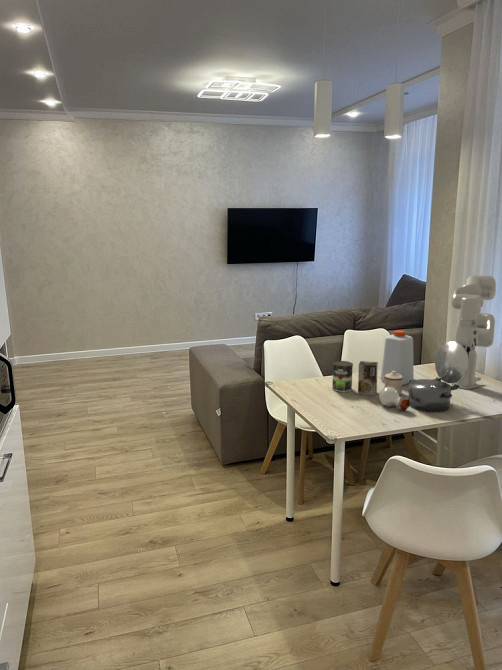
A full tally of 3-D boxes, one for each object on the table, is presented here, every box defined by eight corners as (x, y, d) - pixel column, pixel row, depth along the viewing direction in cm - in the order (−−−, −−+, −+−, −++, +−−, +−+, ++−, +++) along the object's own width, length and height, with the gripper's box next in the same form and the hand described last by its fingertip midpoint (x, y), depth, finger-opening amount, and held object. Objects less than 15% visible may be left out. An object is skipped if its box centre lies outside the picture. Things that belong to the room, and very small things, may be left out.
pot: (429, 394, 268) (430, 374, 266) (466, 409, 246) (468, 388, 244) (395, 400, 260) (397, 379, 258) (431, 417, 238) (433, 394, 235)
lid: (431, 376, 263) (435, 377, 264) (462, 388, 245) (466, 388, 246) (439, 337, 260) (443, 338, 261) (471, 346, 242) (475, 347, 244)
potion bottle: (381, 404, 258) (405, 417, 246) (371, 397, 252) (395, 409, 240) (390, 388, 259) (415, 400, 247) (381, 380, 252) (406, 392, 241)
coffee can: (349, 393, 270) (350, 366, 267) (330, 391, 274) (330, 364, 271) (353, 387, 280) (354, 361, 277) (334, 385, 284) (335, 359, 280)
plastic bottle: (391, 375, 300) (394, 327, 294) (416, 380, 290) (419, 331, 284) (377, 381, 290) (379, 331, 284) (402, 387, 279) (405, 335, 273)
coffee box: (376, 392, 272) (378, 362, 268) (375, 396, 266) (377, 365, 262) (359, 390, 275) (360, 360, 271) (357, 394, 269) (358, 363, 265)
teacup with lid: (405, 394, 268) (407, 372, 265) (391, 397, 264) (392, 374, 262) (391, 387, 279) (392, 366, 276) (376, 390, 275) (377, 368, 273)
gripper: (486, 324, 247) (482, 362, 251) (461, 319, 260) (458, 355, 264) (474, 326, 244) (470, 364, 248) (450, 320, 257) (447, 357, 261)
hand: (464, 359), depth 256 cm, fingers closed
